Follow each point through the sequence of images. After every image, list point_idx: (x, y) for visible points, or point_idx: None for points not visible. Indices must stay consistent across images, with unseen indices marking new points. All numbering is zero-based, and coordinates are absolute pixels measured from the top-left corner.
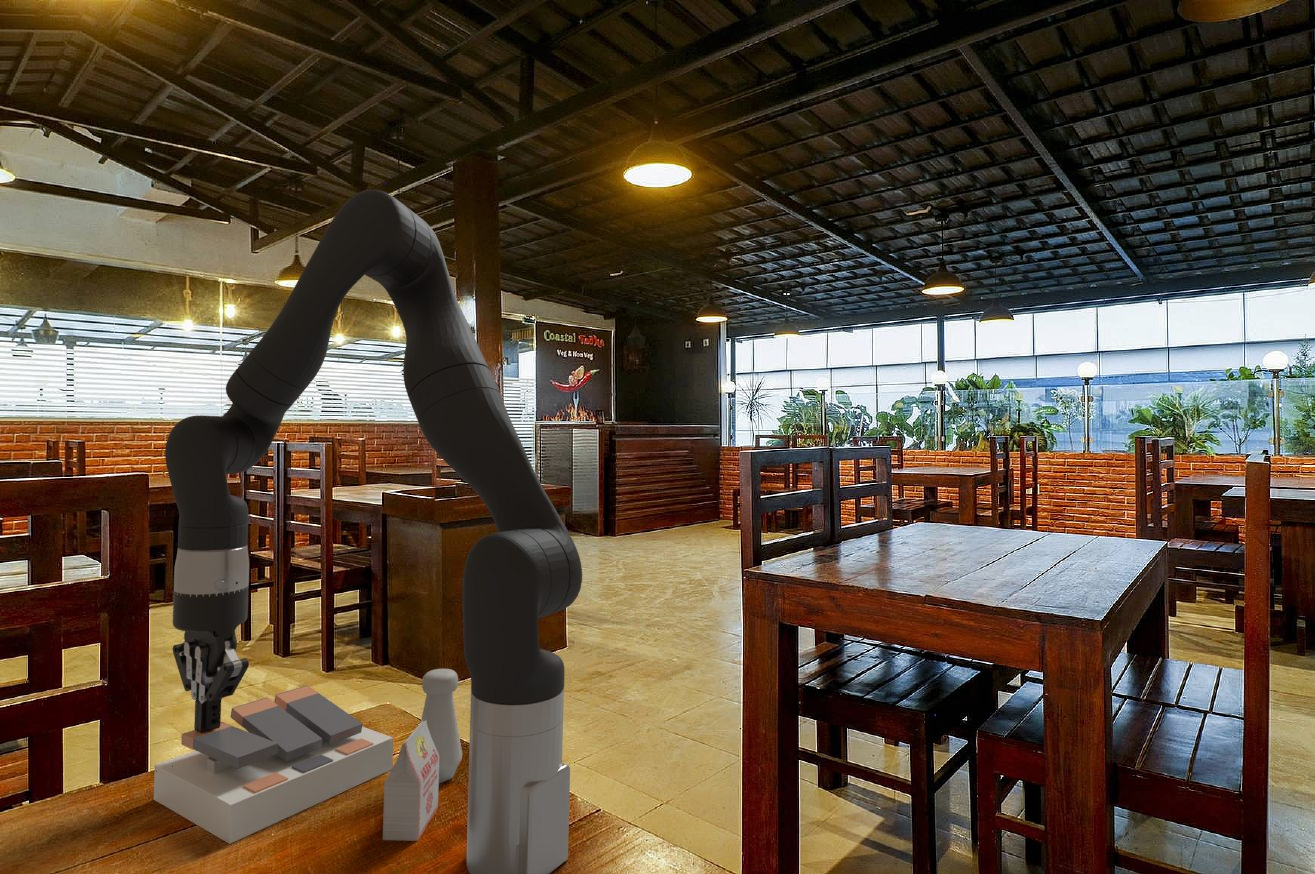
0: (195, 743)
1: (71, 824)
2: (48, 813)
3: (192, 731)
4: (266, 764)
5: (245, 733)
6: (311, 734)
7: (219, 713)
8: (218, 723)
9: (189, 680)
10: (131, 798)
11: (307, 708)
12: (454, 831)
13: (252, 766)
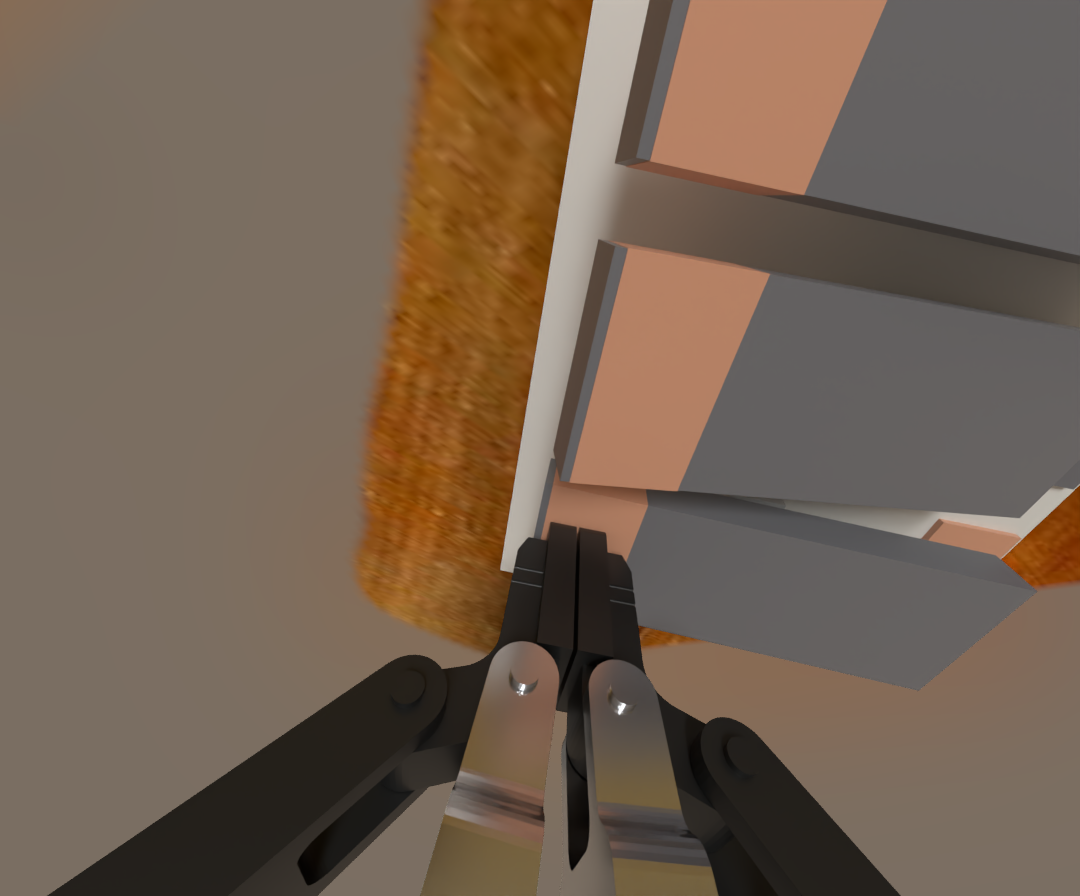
0: None
1: (475, 597)
2: (397, 585)
3: None
4: None
5: (782, 548)
6: None
7: (634, 612)
8: (626, 572)
9: (407, 805)
10: (465, 515)
11: (1003, 125)
12: None
13: (810, 505)
